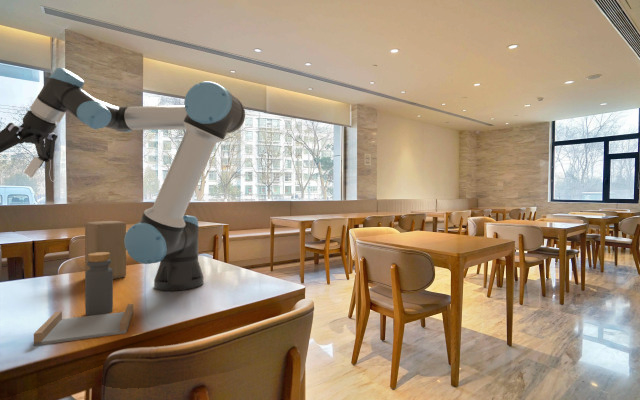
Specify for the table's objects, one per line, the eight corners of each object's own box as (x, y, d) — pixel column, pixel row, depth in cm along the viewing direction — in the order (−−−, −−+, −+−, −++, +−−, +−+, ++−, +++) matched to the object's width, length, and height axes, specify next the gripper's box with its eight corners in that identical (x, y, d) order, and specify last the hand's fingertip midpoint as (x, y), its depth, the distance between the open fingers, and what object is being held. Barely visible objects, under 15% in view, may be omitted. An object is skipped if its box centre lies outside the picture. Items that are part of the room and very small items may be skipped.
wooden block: (114, 273, 126) (114, 220, 126) (127, 277, 120) (127, 221, 120) (84, 278, 118) (83, 221, 117) (96, 283, 112) (95, 223, 112)
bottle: (82, 317, 81) (82, 256, 81) (88, 309, 87) (88, 252, 86) (110, 314, 84) (110, 254, 83) (114, 307, 89) (114, 251, 89)
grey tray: (133, 313, 85) (133, 303, 85) (126, 333, 73) (126, 322, 73) (55, 322, 78) (55, 312, 78) (33, 345, 66) (33, 333, 66)
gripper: (69, 118, 113) (36, 169, 114) (-10, 96, 88) (-52, 162, 89) (86, 131, 112) (52, 182, 114) (11, 113, 87) (-31, 178, 89)
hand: (6, 173), depth 101 cm, fingers open, 13 cm apart
